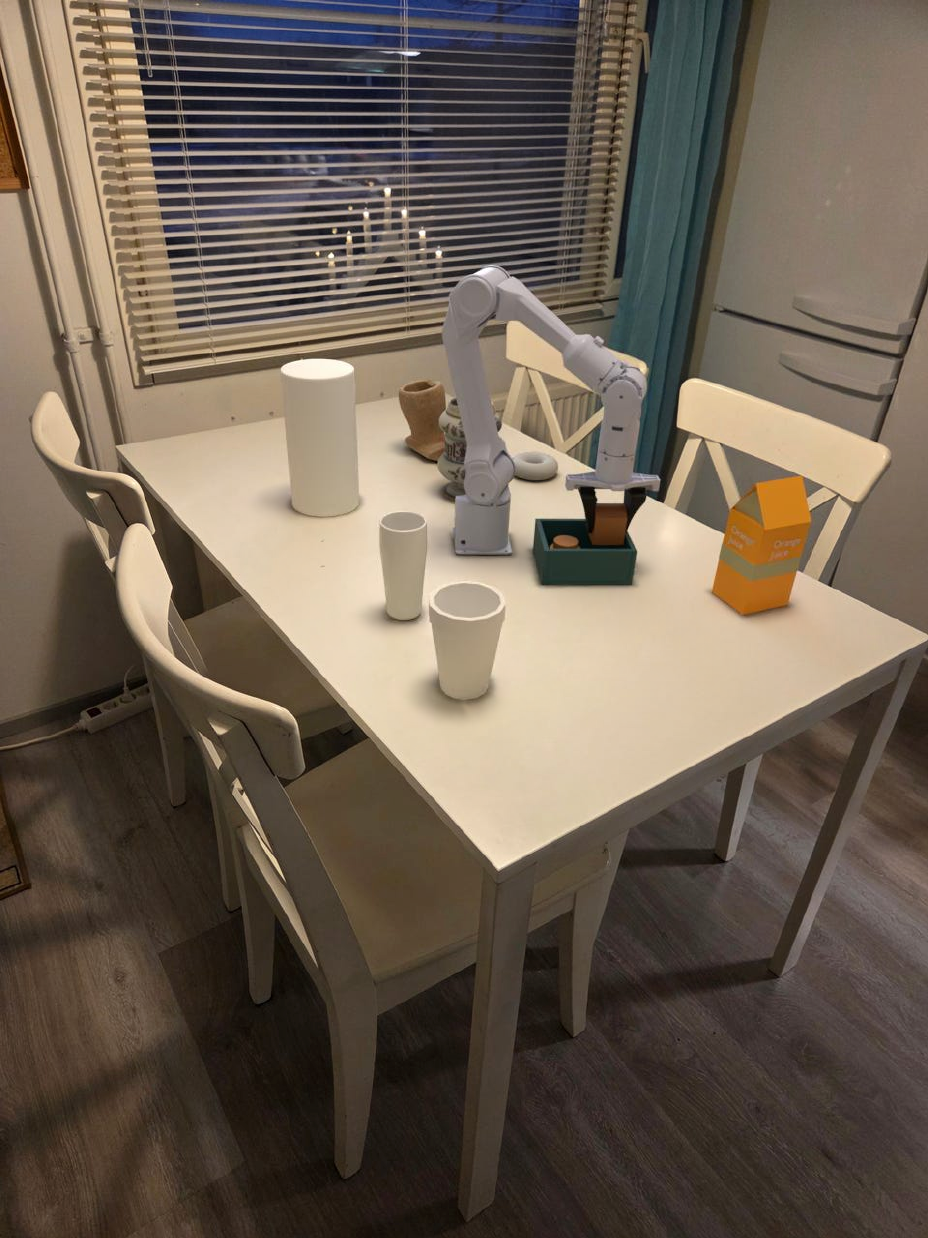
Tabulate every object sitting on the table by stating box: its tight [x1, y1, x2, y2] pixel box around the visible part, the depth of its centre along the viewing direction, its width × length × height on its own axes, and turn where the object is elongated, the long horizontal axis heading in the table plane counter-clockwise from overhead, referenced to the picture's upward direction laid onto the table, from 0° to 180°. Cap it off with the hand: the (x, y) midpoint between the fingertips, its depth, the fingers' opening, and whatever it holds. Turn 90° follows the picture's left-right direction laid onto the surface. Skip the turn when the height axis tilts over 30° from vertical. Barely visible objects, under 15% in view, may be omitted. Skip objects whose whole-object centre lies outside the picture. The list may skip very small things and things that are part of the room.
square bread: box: [588, 502, 627, 545], centre depth 132 cm, size 5×5×6 cm
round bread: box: [550, 535, 580, 549], centre depth 134 cm, size 5×5×5 cm
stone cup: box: [398, 379, 447, 462], centre depth 174 cm, size 15×12×15 cm
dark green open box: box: [532, 518, 638, 586], centre depth 135 cm, size 15×12×6 cm
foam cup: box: [428, 580, 507, 701], centre depth 104 cm, size 10×9×13 cm
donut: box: [512, 451, 559, 481], centre depth 169 cm, size 10×4×10 cm
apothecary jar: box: [436, 396, 503, 502], centre depth 156 cm, size 12×12×18 cm
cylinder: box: [280, 358, 360, 518], centre depth 148 cm, size 12×12×25 cm
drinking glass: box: [378, 510, 428, 621], centre depth 119 cm, size 7×7×15 cm
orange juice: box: [711, 475, 812, 616], centre depth 124 cm, size 8×9×20 cm
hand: (606, 530), depth 133 cm, fingers closed on square bread, 5 cm apart
